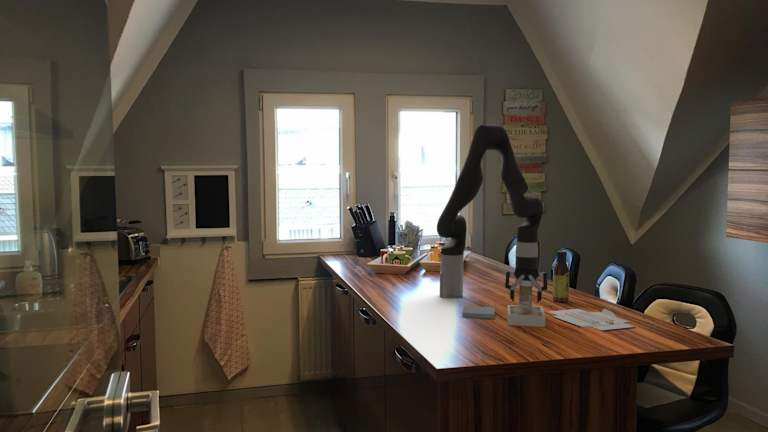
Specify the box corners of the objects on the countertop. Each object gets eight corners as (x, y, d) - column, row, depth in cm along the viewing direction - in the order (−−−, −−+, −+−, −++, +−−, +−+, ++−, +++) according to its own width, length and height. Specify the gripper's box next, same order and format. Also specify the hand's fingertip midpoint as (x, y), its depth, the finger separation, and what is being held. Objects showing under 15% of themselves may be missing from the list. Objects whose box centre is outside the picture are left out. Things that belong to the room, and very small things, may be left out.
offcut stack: (510, 325, 202) (510, 310, 201) (510, 321, 207) (510, 307, 206) (538, 326, 200) (538, 311, 200) (537, 322, 205) (537, 308, 205)
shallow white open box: (507, 324, 201) (508, 314, 201) (507, 314, 215) (507, 304, 215) (545, 327, 199) (545, 316, 198) (541, 316, 213) (542, 306, 213)
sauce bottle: (569, 303, 236) (571, 252, 234) (552, 302, 237) (554, 252, 236) (567, 299, 242) (569, 250, 241) (551, 298, 243) (553, 249, 242)
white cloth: (594, 334, 192) (594, 322, 192) (540, 317, 218) (540, 307, 218) (643, 328, 200) (643, 317, 200) (586, 313, 226) (586, 303, 226)
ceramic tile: (462, 316, 211) (462, 312, 211) (464, 309, 222) (464, 305, 222) (494, 318, 209) (494, 314, 209) (494, 311, 220) (494, 307, 220)
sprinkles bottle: (516, 318, 210) (516, 280, 209) (522, 315, 214) (523, 278, 213) (528, 320, 207) (529, 281, 206) (534, 318, 211) (535, 279, 210)
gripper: (505, 255, 207) (504, 302, 208) (548, 257, 204) (547, 304, 205) (505, 252, 214) (504, 298, 215) (547, 254, 211) (546, 300, 212)
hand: (525, 301), depth 210 cm, fingers open, 8 cm apart
